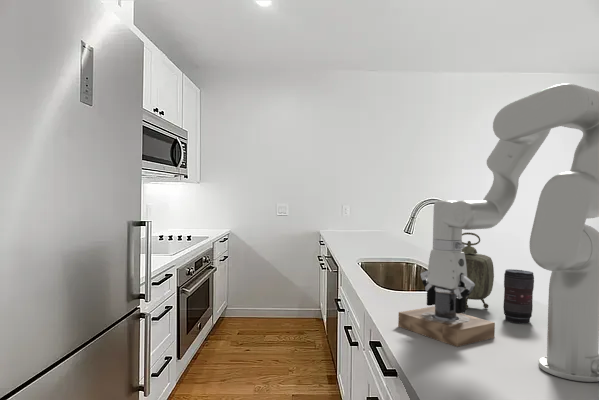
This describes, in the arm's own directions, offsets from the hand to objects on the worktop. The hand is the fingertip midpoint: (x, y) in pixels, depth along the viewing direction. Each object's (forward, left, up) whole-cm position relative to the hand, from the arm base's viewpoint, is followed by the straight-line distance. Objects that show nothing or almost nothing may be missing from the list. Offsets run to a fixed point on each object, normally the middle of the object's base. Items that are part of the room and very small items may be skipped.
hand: (445, 308), depth 128 cm
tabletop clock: (+15, -29, -6) cm, 33 cm away
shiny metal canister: (0, 0, -6) cm, 6 cm away
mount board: (0, 0, -6) cm, 6 cm away
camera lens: (-3, -29, -6) cm, 30 cm away
